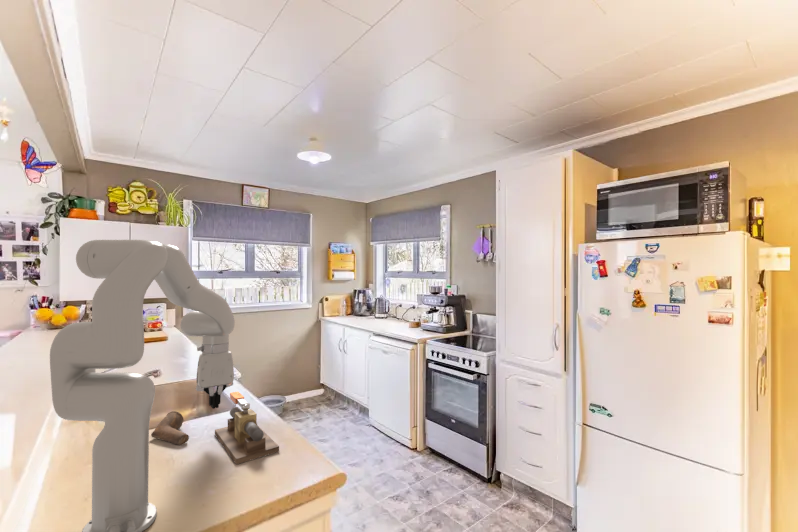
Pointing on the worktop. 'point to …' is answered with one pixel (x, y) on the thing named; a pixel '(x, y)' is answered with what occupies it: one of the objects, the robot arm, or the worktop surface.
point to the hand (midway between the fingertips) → (214, 406)
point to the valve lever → (239, 400)
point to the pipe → (171, 429)
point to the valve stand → (245, 437)
